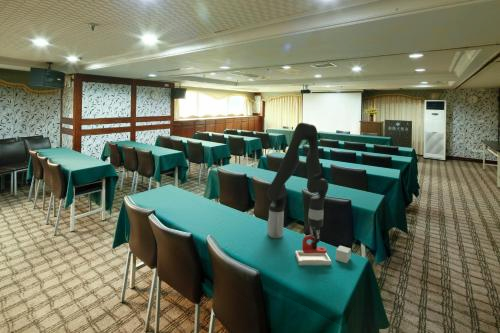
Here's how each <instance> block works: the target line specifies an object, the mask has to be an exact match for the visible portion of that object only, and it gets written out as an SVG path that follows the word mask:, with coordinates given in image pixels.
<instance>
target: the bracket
mask: <svg viewBox="0 0 500 333" xmlns="http://www.w3.org/2000/svg"><path fill="white" fill-rule="evenodd" d="M308 241H311V242H310V243H308ZM301 243H302V245H301V246H302V247H301V251H303V252H304V253H327V249H326V247H325V246H317V248H316V249H313V248H312V244H313V238H312V235H310V234H308V235H305V236H304V237H303V239H302V242H301Z"/></svg>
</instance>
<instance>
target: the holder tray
mask: <svg viewBox="0 0 500 333" xmlns="http://www.w3.org/2000/svg"><path fill="white" fill-rule="evenodd" d="M294 252H295V254H294V255H295V258H296V261H297V263H298V266H332V260H331V258H330V257H329V255H328V253H327V252H326V253H304V252H303V250H295V251H294Z"/></svg>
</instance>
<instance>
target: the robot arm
mask: <svg viewBox="0 0 500 333" xmlns="http://www.w3.org/2000/svg"><path fill="white" fill-rule="evenodd" d="M318 137H319V136H318V130H317V127H316V125H314V124H312V123H311V124H310V123H306V122H299V123H297V125H296V127H295V129H294V130H293V134H292V137H291V140H290V142H289V145H288V147H287V150H286V152H285V154H284V157H283V158H282V161H281V163H280V165H279V167H278V170H277V171H276V174H275V176H274V179H273V180H272V181H271V184H270V185H269V187H268V189H267V191H266V196H267V197H268V199H269V200H270V201H272V202H270V204H269V206H268V219H267V229H266V230H267V233H266V234H267V236H268V237H269V238H272V239H281V238H282V237H283V236H284V219H285V218H284V217H285V216H284V214H285V207H286V201H287V189H286V187H285V184H286V182H287V181H288V180H289V179H290V178H291V177H292V176H293V175H294V173H295V172H296V170H297V167H299V164H300V153H299V148H300V145H301V142H302V141H306V142H307V143H308V152H307V155H306V157H305V165H306V169H307V170H306V171H307V182H306V189H307V191H308V192H309V193H311V194H316V195H313V196H311V197H310V198H309V206H308V217H307V224H308V227H309V235H312V238H313V244H312V248H313V249H316V248H317V247H318V243H320V241H321V238H322V237H321V236H322V235H321V234H320V233H321V232H320V231H321V230H320V228H321V227H323V226H324V203H325V199H326V195H327V194H328V193H327V192H328V190H329V182H328V180H327V179H325V178H315V177H318V176H320V175H321V174H322V168H321V163H320V158H319V157H320V155H319V140H318V139H319V138H318Z"/></svg>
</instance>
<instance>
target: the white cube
mask: <svg viewBox="0 0 500 333" xmlns="http://www.w3.org/2000/svg"><path fill="white" fill-rule="evenodd" d="M351 252H352V248H350V247H346V246H343V245H339V246H338V247H337V248H336V249H335V260H336V261H337V262H342V263H345V264H348V262H349V261H350V259H351V255H352V254H351Z"/></svg>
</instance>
